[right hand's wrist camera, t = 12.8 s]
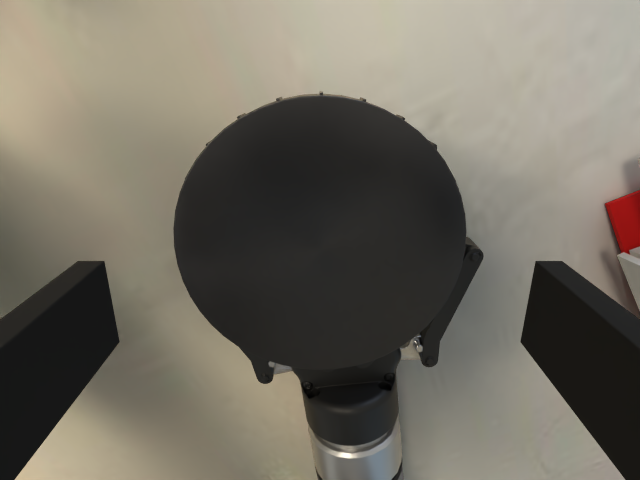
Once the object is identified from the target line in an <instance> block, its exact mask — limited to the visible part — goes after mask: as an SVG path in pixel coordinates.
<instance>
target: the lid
mask: <svg viewBox="0 0 640 480" xmlns="http://www.w3.org/2000/svg"><path fill="white" fill-rule="evenodd" d="M276 100H277V101H275V102H272V103H269V104H266V105H264V106H262V107H260V108H258V109H256V110H254V111H252V112H250V113H248V114H245V113H244V114H242V115H240V116H238V117H237V118H238V119H237V120H236V121H235V122H233V123H232V124H230V125H229V126H227V127H226V128H225V129H223V130H222V131H221V132H220V133H219V134H218V135H217V136H216V137H215V138H214V139H213V140H212V141H210V142H208V143H207V144H206V147H205V149H204V150H203V151H202V152H201V154H200V155H199V156H198V157H197V159H196V161H195V162H194V164H193V166H192V167H191V169H190V171H189V173H188V174H187V176H186V178H185V181H184V184H183V186H182V189H181V191H180V194H179V198H178V202H177V206H176V210H175V220H174V247H175V253H176V258H177V264H178V267H179V270H180V273H181V276H182V279H183V282H184V284H185V286H186V288H187V290H188V292H189V294H190V297H191V298H192V300H193V301H194V303H195V304H196V306H197V307H198V309H199V310H200V312H201V313H202V314H203V315H204V316H205V318H206V319H207V320H208V321H209V322H210V324H211V325H212V326H213V327H215V328H216V329H217V330H218V331H219V332H220V333H221V334H222V335H223V336H224V337H226V338H227V339H229V340H230V341H231V342H233V343H234V344H236V345H237V346H239V347H240V348H242V349H244V350H246V351H247V352H249V353H251V354H253V355H255V356H258V357H260V358H262V359H265V360H267V361H270V362H274V363H277V364H280V365H284V366H289V367H295V368H300V369H314V370H324V369H339V368H345V367H352V366H356V365H359V364H363V363H367V362H370V361H372V360H375V359H377V358H380V357H383V356H385V355H387V354H389V353H391V352H392V351H394V350H396V349H398V348H400V347H401V346H403V345H404V344H406V343H407V342H409V341H410V340H411V339H413V338H414V337H415V336H416V335H418V334H419V333H420V332H421V331H422V330H423V329H424V328H426V327H427V325H428V324H429V323H430V322H431V321H432V320H433V319H434V318H435V317H436V315H437V314H438V313H439V311H440V310H441V309H442V307H443V306H444V304H445V303H446V301H447V300H448V298H449V296H450V294H451V292H452V290H453V288H454V286H455V284H456V281H457V279H458V276H459V273H460V270H461V267H462V263H463V258H464V253H465V244H466V221H465V212H464V207H463V203H462V198H461V195H460V192H459V189H458V187H457V184H456V181H455V179H454V177H453V175H452V173H451V171H450V169H449V168H448V166H447V164H446V162H445V161H444V159H443V158H442V157H441V155H440V154H439V153H438V151H437V150H436V149H435V145H433V144H432V143H430V142H429V141H428V140H427V139H426V138H425V137H424V136H423V135H422V134H421V133H420V132H419V131H418V130H416V129H415V128H414V127H412V126H411V125H410V124H408V123H407V122H406V121H404V120H405V118H404V117H402V116H399V115H394V114H392V113H390V112H388V111H386V110H385V109H383V108H380V107H378V106H376V105H373V104H370V103H368V102H366V99H364V98H360V99H355V98H351V97H346V96H342V95H331V94H323V92H320V94H308V95H299V96H294V97H289V98H284V99H282V97H279V98H277V99H276Z"/></svg>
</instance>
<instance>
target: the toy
mask: <svg viewBox="0 0 640 480" xmlns="http://www.w3.org/2000/svg"><path fill="white" fill-rule="evenodd" d="M638 163H639V166H640V159H638ZM605 205H606V208H607V211H608V214H609V217H610V220H611V223H612V226H613V229H614V232H615V235H616V238H617V241H618V244H619V247H620V250H621V254H619V255H617V257H618V259H619V262H620V264H621V266H622V269H623V271H624V274H625V276H626V279H627V281H628V284H629V286H630V289H631V291H632V294H633V296H634V298H635V301H636V303H637V306H638V308H639V311H640V190H638V191H636V192H633V193H631V194H628V195H626V196H623V197H621V198H618V199H616V200H613V201H610V202H608V203H605Z"/></svg>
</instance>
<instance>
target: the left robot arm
mask: <svg viewBox="0 0 640 480" xmlns="http://www.w3.org/2000/svg"><path fill="white" fill-rule="evenodd" d="M429 142H430V141H429ZM430 143H432V142H430ZM432 144H433V145H435V144H434V143H432ZM435 149H436V150H437V145H435ZM482 260H483V253H482V251H481V250H480V249H479V248H478V247H477V246H476V245H475V243H474V242H473V241H472V240H471V239H470V238H468V237H466V244H465V253H464V258H463V263H462V267H461V270H460V273H459V276H458V279H457V281H456V284H455V286H454V288H453V290H452V292H451V294H450V296H449V298H448V300H447V301H446V303H445V304H444V306H443V307H442V309H441V310H440V311H439V313H438V314H437V315H436V317H435V318H434V319H433V320H432V321H431V322H430V323H429V324H428V325H427V327H426V328H424V329H423V330H422V331H421V332H420V333H419V334H418V335H416V336H415V337H414V338H413V339H411V340H410V341H409V342H407V343H406V344H404V345H403V346H401V347H400V348H398V349H396V350H394V351H392V352H391V353H389V354H387V355H385V356H383V357H380V358H377V359H375V360H372V361H370V362H367V363H363V364H359V365H356V366H352V367H345V368H339V369H324V370H314V369H300V368H295V367H289V366H284V365H280V364H277V363H274V362H270V361H267V360H265V359H262V358H260V357H258V356H255V355H253V354H251V353H249V352H247V351H246V350H244V349H242V348H240V347H239V348H240V349H241V350H242V351H243V352H244V353H245V355H246V356H247V357H248V358H249V359H250V360H251V362H252V365H253V368H254V371H255V374H256V377H257V379H258V381H259V382H261V383H263V384H268V383H270V382H271V381H272V379H273V375H274V374H279V373H284V372H289V371H293V372H294V373H295V374H296V375H297V376H298V378H299V380H300V383H301V388H302V394H303V400H304V406H305V412H306V417H307V422H308V424H309V426H308V430H309V435H310V440H311V446H312V451H313V456H314V462H315V468H316V472H317V477H318V480H404V478H403V469H402V445H401V433H400V422H399V415H398V409H399V408H398V395H397V382H396V368H397V365H398V363H399V361H400V360H417V359H421V361H422V364H423V365H424V366H426V367H433V366H434V365H436V364H437V361H438V354H439V344H440V340H441V338H442V336H443V334H444V332H445V330H446V328H447V326H448V325H449V323H450V321H451V319H452V317H453V315H454V313H455V311H456V309H457V307H458V305H459V304H460V302H461V300H462V298H463V296H464V294H465V292H466V290H467V288H468V286H469V284H470V283H471V281H472V279H473V277H474V275H475V273H476V271H477V269H478V267H479V265H480V263H481V262H482Z"/></svg>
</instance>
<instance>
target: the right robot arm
mask: <svg viewBox="0 0 640 480" xmlns="http://www.w3.org/2000/svg"><path fill="white" fill-rule="evenodd" d="M118 343H119V337H118V331H117V326H116V321H115V316H114V310H113V305H112V300H111V294H110V289H109V284H108V279H107V273H106V268H105V263H104V261H78V262H76V263H75V264H74V265H72V266H71V267H70V268H68V269H67V270H66V271H64V272H63V273H62V274H60V275H59V276H58V277H56V278H55V279H54V280H52V281H51V282H50V283H48V284H47V285H46V286H44V287H43V288H42V289H40V290H39V291H38V292H36V293H35V294H34V295H32V296H31V297H30V298H28V299H27V300H26V301H24V302H23V303H22V304H20V305H19V306H18V307H16V308H15V309H14V310H12V311H11V312H10V313H8V314H7V315H6V316H4V317H3V318H2V319H0V480H15V478H16V477H17V476H18V474H19V473H20V472H21V470H22V469H23V468H24V466H25V465H26V464H27V462H28V461H29V460H30V459H31V457H32V456H33V455H34V453H35V452H36V451H37V449H38V448H39V447H40V445H41V444H42V443H43V442H44V440H45V439H46V438H47V436H48V435H49V434H50V432H51V431H52V430H53V428H54V427H55V426H56V424H57V423H58V422H59V421H60V419H61V418H62V417H63V415H64V414H65V413H66V411H67V410H68V409H69V407H70V406H71V405H72V403H73V402H74V401H75V400H76V398H77V397H78V396H79V394H80V393H81V392H82V390H83V389H84V388H85V386H86V385H87V384H88V383H89V381H90V380H91V379H92V377H93V376H94V375H95V373H96V372H97V371H98V369H99V368H100V367H101V365H102V364H103V363H104V362H105V360H106V359H107V358H108V356H109V355H110V354H111V352H112V351H113V350H114V348H115V347H116V346H117V345H118ZM521 343H522V345H523V346H524V347H525V348H526V350H527V351H528V352H529V354H530V355H531V356H532V358H533V359H534V360H535V362H536V363H537V364H538V365H539V367H540V368H541V369H542V371H543V372H544V373H545V375H546V376H547V377H548V379H549V380H550V381H551V383H552V384H553V385H554V386H555V388H556V389H557V390H558V392H559V393H560V394H561V396H562V397H563V398H564V400H565V401H566V402H567V404H568V405H569V406H570V407H571V409H572V410H573V411H574V413H575V414H576V415H577V417H578V418H579V419H580V421H581V422H582V423H583V424H584V426H585V427H586V428H587V430H588V431H589V432H590V434H591V435H592V436H593V438H594V439H595V440H596V442H597V443H598V444H599V445H600V447H601V448H602V449H603V451H604V452H605V453H606V455H607V456H608V457H609V459H610V460H611V461H612V462H613V464H614V465H615V466H616V468H617V469H618V470H619V472H620V473H621V474H622V476H623V477H624V478H625V480H640V319H638V318H637V317H636V316H634V315H633V314H632V313H630V312H629V311H628V310H626V309H625V308H624V307H622V306H621V305H620V304H618V303H617V302H616V301H614V300H613V299H612V298H610V297H609V296H608V295H606V294H605V293H604V292H602V291H601V290H600V289H598V288H597V287H596V286H594V285H593V284H592V283H590V282H589V281H588V280H586V279H585V278H584V277H582V276H581V275H580V274H578V273H577V272H576V271H574V270H573V269H572V268H570V267H569V266H568V265H566V264H565V263H564V262H562V261H536V263H535V268H534V273H533V279H532V284H531V289H530V294H529V300H528V305H527V310H526V316H525V321H524V326H523V331H522V337H521Z"/></svg>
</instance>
